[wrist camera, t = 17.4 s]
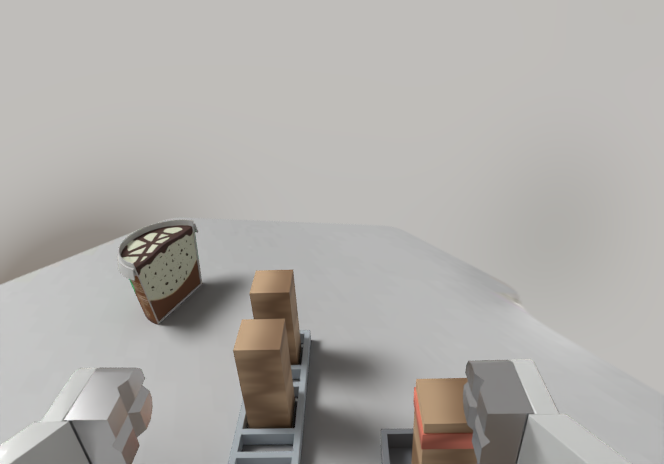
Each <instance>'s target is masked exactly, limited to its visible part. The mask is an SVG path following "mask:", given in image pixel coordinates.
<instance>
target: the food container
mask: <svg viewBox="0 0 664 464" xmlns="http://www.w3.org/2000/svg"><path fill="white" fill-rule="evenodd" d="M195 232H198V230H197V227H196V225H195V224H194V223H193V220H169V221H163V222H159V223H155V224H152V225H148V226H146V227H143V228H141V229H139V230H137V231H135V232H133V233H132V234H130V235H129V236H128V237H126V238H125V239H124V240H123V241H122V243H121V244H120V246H119V249H118V254H117V261H118V269H119V271H120V273H121V274H122V275H123V276H124V277H126V278H128V279H129V280H130V282H131V285H132V287H133V289H134V291H135V294H136V296H137V298H138V300H139V302H140V305H141V307H142V309H143V311H144V314H145V316H146V317H147V319H148V320H150V321H151V322H153V323H155V324H160V323H161V322H162V321H163V320H164V319H165V318H166V317H167V316H168V315H169V314H170V313H171V312H173V311H174V310H175V309H176V308H177V307H178V306H179V305H180V304H181V303H182V302H183V301H184V300H186V299H187V298H188V297H189V296H190V295H191V294H192V293H193V292H194V291H195V290H196V289H197V288H199V287H200V286H201V285H202V279H201V272H200V265H199V258H198V250H197V243H196V236H195Z"/></svg>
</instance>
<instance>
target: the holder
mask: <svg viewBox="0 0 664 464" xmlns="http://www.w3.org/2000/svg"><path fill="white" fill-rule="evenodd" d="M299 331H300V340H301V343H304V345H303V355H302V364H301V365H291V371H292V379H300V382H293V387H294V395H295V397H298V403H297V412H296V422H295V428H269V429H247V424H248V420H247V415H246V410H245V406H244V401H243V400H242V405H241V409H240V413H239V418H238V422H237V426H236V431H235V435H234V439H233V444H232V448H231V452H230V457H229V461H228V464H300V461H301V450H302V438H303V426H304V415H305V403H306V391H307V379H308V368H309V356H310V344H311V335H310V330H299ZM264 444H293V451H266V452H242V448H243V445H264Z"/></svg>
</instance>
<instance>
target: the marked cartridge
mask: <svg viewBox="0 0 664 464" xmlns="http://www.w3.org/2000/svg"><path fill="white" fill-rule="evenodd" d="M467 382H468V380H467V378H447V379H416V387H414V407H415V411H414V428H413V445H412V462H411V464H477V458H476V455H475V451H474V448H473V444H472V436H473V430H472V429H471V428H470V427H469V426H468V425H467V422H466V418H465V413H464V408H463V388H464V385H465V384H466V383H467Z"/></svg>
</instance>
